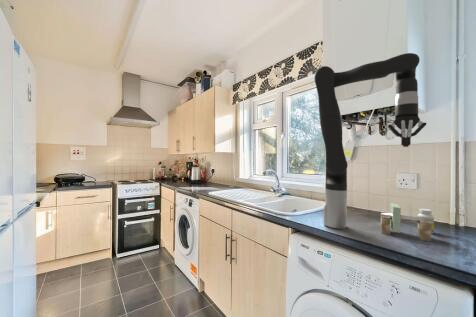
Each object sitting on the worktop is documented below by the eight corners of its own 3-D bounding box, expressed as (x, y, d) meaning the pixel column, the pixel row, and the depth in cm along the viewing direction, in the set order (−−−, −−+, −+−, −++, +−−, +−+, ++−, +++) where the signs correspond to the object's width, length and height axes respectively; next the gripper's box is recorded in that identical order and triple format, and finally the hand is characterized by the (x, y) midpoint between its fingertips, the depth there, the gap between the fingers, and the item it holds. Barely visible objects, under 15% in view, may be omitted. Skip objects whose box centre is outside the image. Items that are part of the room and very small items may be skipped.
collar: (393, 231, 87) (393, 207, 87) (390, 225, 96) (390, 203, 96) (400, 232, 86) (400, 207, 86) (397, 226, 94) (397, 203, 95)
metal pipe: (381, 219, 92) (381, 213, 92) (380, 217, 95) (381, 211, 95) (429, 225, 84) (430, 218, 84) (428, 223, 86) (428, 217, 86)
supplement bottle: (417, 229, 98) (417, 207, 98) (433, 231, 94) (433, 209, 95) (417, 231, 94) (417, 209, 94) (434, 234, 90) (434, 211, 90)
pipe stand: (381, 233, 91) (381, 216, 91) (380, 229, 96) (380, 214, 96) (430, 241, 83) (431, 223, 83) (427, 236, 88) (427, 219, 88)
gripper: (387, 104, 88) (387, 146, 87) (429, 100, 81) (429, 145, 81) (386, 108, 94) (385, 147, 94) (425, 105, 87) (424, 147, 87)
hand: (405, 146), depth 87 cm, fingers closed
